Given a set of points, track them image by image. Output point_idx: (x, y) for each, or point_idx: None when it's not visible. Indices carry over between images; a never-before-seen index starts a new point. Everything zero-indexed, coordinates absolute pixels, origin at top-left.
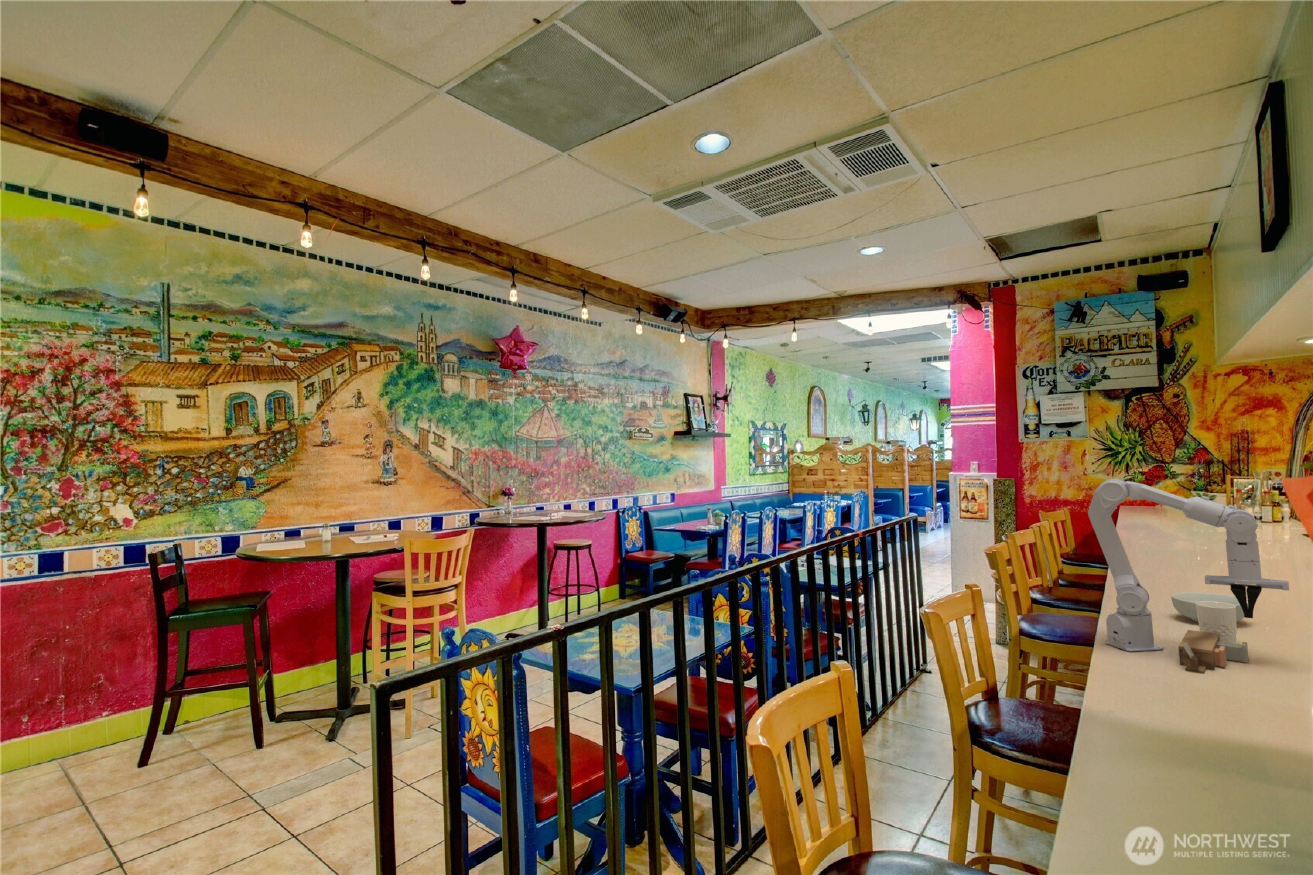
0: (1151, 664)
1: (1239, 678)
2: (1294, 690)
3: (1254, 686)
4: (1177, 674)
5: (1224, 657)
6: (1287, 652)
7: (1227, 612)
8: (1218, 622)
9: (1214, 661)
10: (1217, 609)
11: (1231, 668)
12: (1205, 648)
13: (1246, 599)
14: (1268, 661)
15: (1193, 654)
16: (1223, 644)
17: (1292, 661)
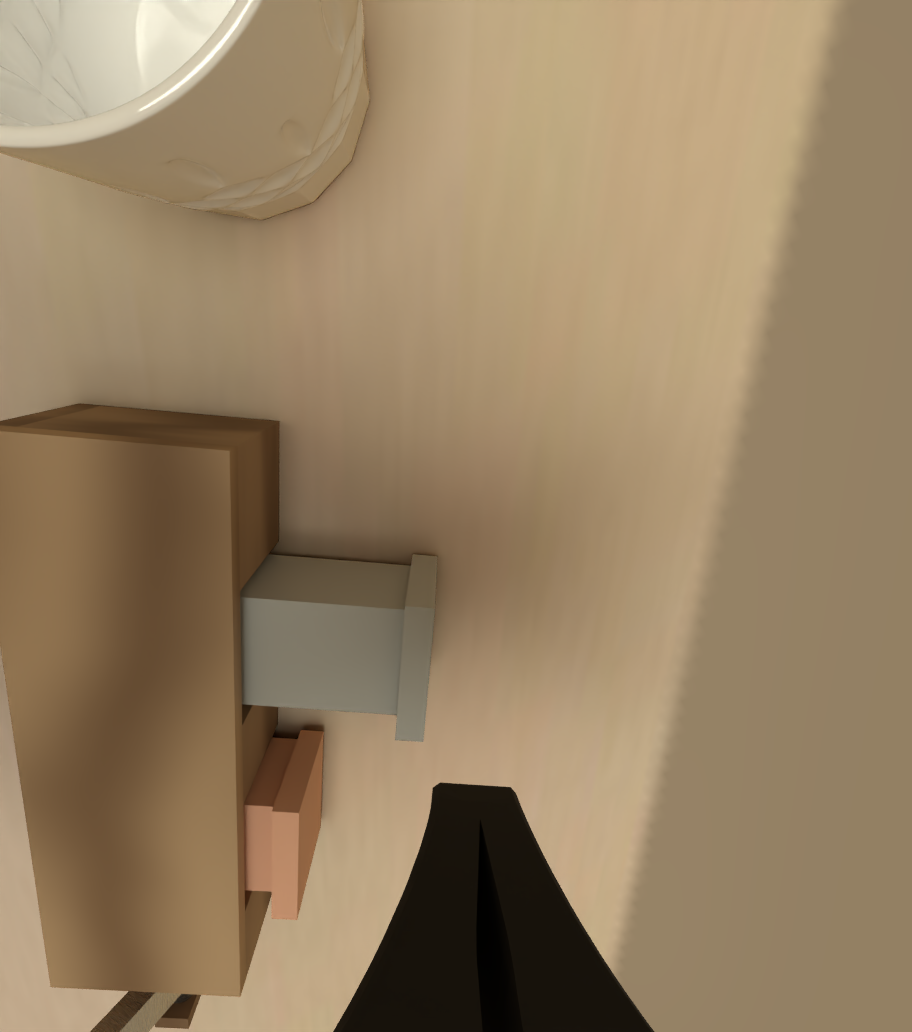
0: (2, 919)
1: None
2: None
3: None
4: None
5: (309, 849)
6: (706, 154)
7: (220, 109)
8: (171, 191)
9: None
10: (68, 156)
11: (350, 797)
12: (200, 967)
13: (477, 1014)
14: (542, 533)
15: (158, 1008)
16: (285, 672)
17: (679, 451)
